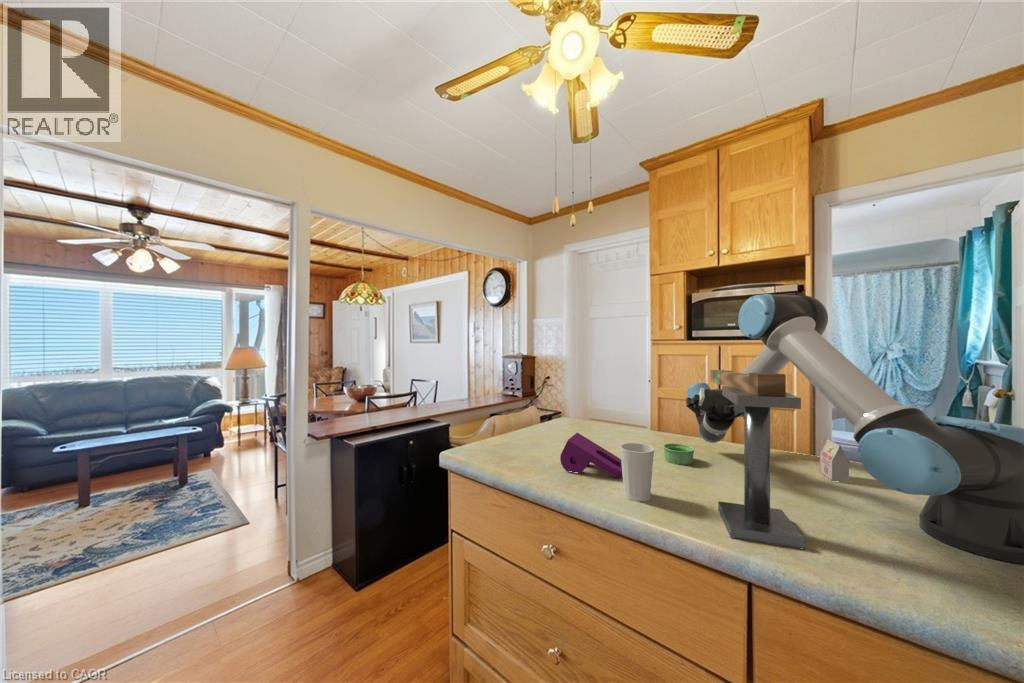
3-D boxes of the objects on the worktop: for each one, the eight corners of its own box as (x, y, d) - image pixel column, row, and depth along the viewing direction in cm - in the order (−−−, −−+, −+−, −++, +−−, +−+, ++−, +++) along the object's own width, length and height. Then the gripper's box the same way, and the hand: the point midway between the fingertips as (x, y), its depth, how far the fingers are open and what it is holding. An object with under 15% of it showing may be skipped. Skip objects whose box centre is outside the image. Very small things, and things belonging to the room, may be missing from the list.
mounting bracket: (618, 488, 108) (566, 454, 116) (630, 465, 107) (577, 432, 114) (611, 501, 100) (556, 463, 107) (625, 475, 98) (567, 439, 106)
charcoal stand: (807, 552, 66) (807, 398, 65) (731, 540, 70) (731, 395, 69) (778, 515, 79) (778, 387, 79) (716, 507, 83) (716, 385, 83)
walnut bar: (785, 396, 69) (785, 374, 69) (757, 395, 69) (757, 374, 69) (726, 382, 91) (726, 365, 91) (705, 382, 91) (705, 365, 91)
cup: (619, 500, 87) (619, 450, 87) (621, 487, 95) (621, 441, 95) (654, 505, 84) (654, 454, 84) (653, 491, 92) (653, 444, 92)
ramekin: (692, 467, 109) (692, 453, 109) (660, 462, 114) (660, 448, 114) (696, 459, 116) (695, 445, 116) (666, 454, 121) (666, 441, 121)
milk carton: (835, 474, 103) (835, 439, 103) (848, 483, 97) (849, 446, 97) (819, 473, 104) (819, 438, 104) (831, 481, 98) (832, 444, 98)
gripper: (767, 434, 106) (791, 410, 89) (674, 427, 115) (680, 404, 97) (763, 410, 110) (786, 382, 92) (673, 405, 118) (678, 379, 101)
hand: (731, 393), depth 95 cm, fingers open, 13 cm apart
